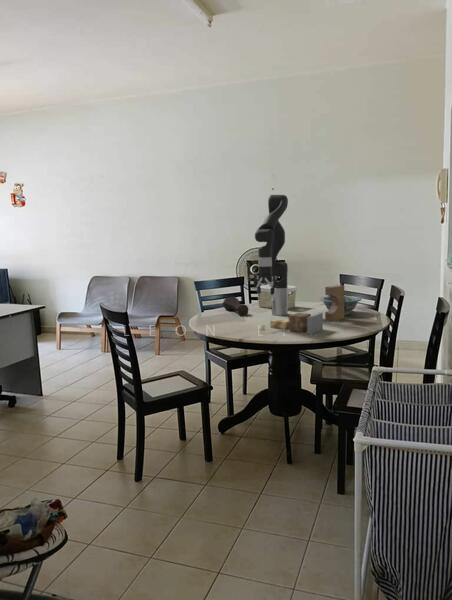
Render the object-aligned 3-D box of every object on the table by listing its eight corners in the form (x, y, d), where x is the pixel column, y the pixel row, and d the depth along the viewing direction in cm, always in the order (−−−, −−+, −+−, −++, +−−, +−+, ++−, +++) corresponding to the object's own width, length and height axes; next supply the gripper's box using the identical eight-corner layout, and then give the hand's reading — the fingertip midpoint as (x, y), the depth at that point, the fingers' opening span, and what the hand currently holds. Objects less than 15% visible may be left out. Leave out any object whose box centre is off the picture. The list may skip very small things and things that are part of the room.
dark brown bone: (226, 312, 332) (241, 324, 307) (219, 299, 328) (233, 311, 303) (239, 303, 334) (255, 315, 309) (232, 291, 330) (248, 301, 305)
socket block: (289, 330, 258) (288, 315, 257) (297, 326, 266) (297, 312, 265) (302, 331, 254) (302, 317, 252) (310, 328, 262) (310, 313, 260)
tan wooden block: (270, 327, 269) (270, 320, 268) (273, 326, 272) (273, 319, 271) (286, 329, 263) (286, 322, 262) (289, 328, 266) (289, 321, 266)
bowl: (369, 312, 302) (369, 297, 300) (345, 318, 285) (345, 303, 284) (335, 308, 320) (335, 294, 319) (312, 314, 304) (312, 299, 302)
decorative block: (331, 321, 279) (331, 287, 275) (324, 320, 283) (324, 286, 280) (344, 319, 285) (345, 285, 282) (337, 317, 289) (337, 284, 286)
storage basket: (297, 306, 332) (297, 285, 329) (284, 310, 319) (284, 288, 317) (269, 304, 347) (269, 283, 345) (256, 307, 335) (255, 286, 332)
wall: (307, 334, 250) (307, 317, 248) (319, 328, 261) (319, 312, 259) (310, 334, 249) (310, 317, 247) (322, 329, 260) (322, 312, 258)
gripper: (250, 265, 269) (251, 294, 271) (272, 266, 260) (273, 295, 263) (257, 264, 275) (258, 292, 277) (279, 265, 266) (280, 293, 269)
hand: (265, 294), depth 270 cm, fingers open, 8 cm apart
